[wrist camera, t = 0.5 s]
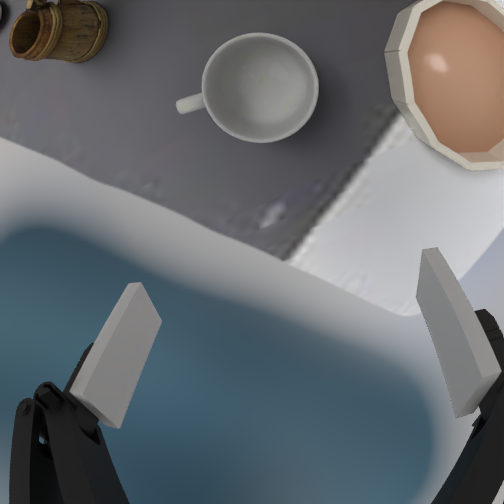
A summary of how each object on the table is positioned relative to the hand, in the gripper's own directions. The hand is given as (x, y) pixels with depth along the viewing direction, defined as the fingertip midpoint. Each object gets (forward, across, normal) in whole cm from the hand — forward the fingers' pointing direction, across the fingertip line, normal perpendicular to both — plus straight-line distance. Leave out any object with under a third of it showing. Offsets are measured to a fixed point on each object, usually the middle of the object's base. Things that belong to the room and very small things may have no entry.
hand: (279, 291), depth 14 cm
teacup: (+26, -2, +8) cm, 28 cm away
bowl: (+26, +24, +7) cm, 36 cm away
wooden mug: (+26, -21, +25) cm, 42 cm away
